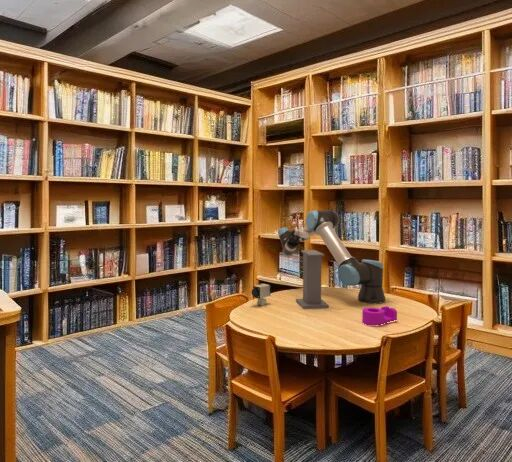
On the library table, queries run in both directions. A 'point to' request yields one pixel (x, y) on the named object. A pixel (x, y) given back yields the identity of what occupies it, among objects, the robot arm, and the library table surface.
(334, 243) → the robot arm
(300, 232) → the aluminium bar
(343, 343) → the library table surface
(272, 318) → the library table surface
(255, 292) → the grey camera
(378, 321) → the tape dispenser
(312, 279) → the stand
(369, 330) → the library table surface
